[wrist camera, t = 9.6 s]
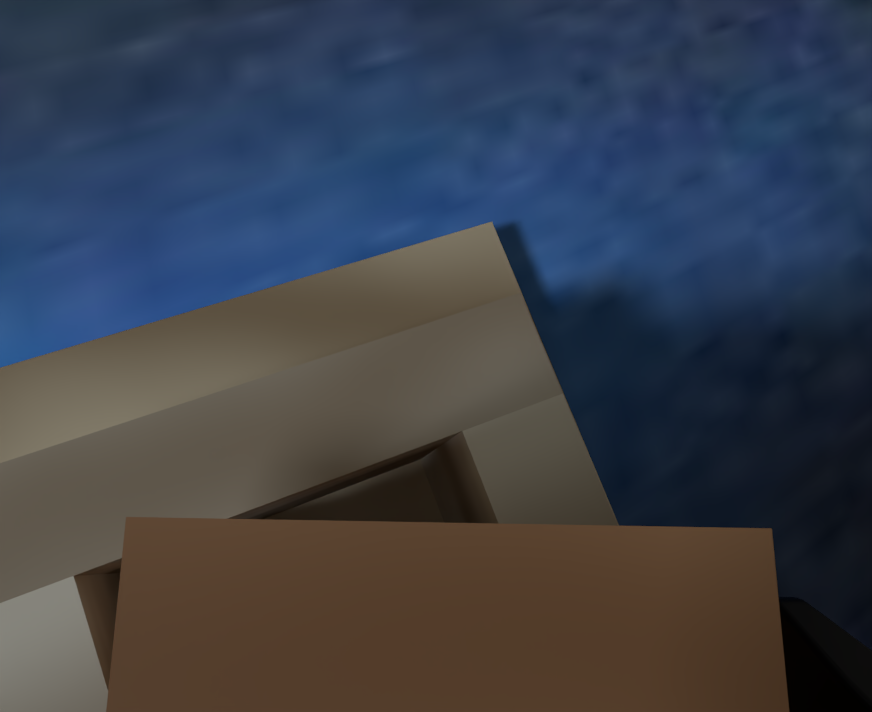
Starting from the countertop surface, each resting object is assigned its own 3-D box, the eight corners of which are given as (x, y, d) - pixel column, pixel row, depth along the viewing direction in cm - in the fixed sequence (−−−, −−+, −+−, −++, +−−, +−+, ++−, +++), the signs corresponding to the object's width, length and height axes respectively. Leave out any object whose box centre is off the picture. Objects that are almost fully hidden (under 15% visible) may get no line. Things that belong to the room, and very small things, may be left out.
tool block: (749, 883, 18) (923, 997, 13) (102, 1275, 14) (18, 1637, 9) (481, 237, 20) (546, 138, 16) (-126, 421, 17) (-282, 364, 12)
